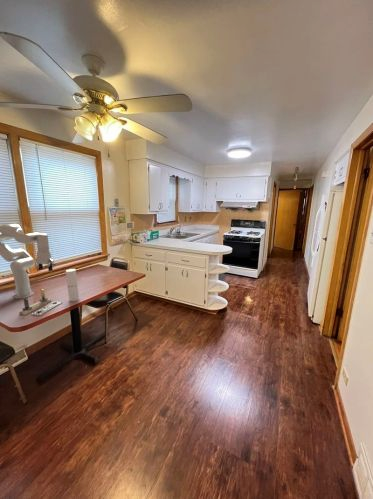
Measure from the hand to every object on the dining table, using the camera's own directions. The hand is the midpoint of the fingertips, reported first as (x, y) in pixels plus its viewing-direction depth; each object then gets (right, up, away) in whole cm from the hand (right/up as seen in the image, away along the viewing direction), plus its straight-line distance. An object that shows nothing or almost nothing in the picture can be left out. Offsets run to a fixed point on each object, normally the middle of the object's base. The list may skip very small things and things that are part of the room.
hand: (45, 269), depth 168 cm
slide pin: (+1, -24, -4) cm, 24 cm away
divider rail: (0, -27, -10) cm, 29 cm away
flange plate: (+9, -28, -12) cm, 32 cm away
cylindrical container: (+21, -25, +4) cm, 33 cm away
